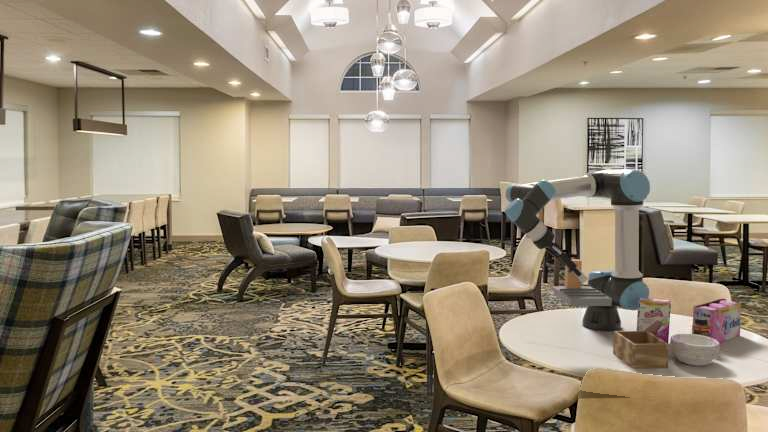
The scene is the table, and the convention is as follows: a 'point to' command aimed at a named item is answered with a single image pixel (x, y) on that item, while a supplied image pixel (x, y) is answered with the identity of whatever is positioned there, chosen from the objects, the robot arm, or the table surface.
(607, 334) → the table surface
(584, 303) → the grooved grey block
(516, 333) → the table surface
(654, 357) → the tub
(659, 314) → the candy bar box
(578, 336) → the table surface
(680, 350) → the paper bowls
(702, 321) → the supplement bottle
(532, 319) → the table surface
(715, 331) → the gum box
